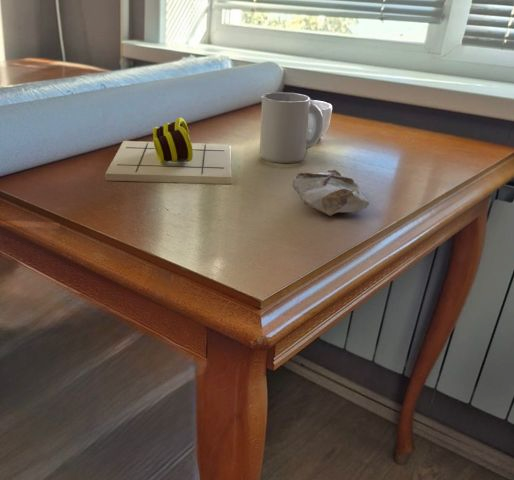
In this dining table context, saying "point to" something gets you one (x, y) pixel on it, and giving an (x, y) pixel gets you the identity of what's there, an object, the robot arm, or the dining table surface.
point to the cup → (288, 126)
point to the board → (171, 164)
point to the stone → (329, 192)
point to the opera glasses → (173, 142)
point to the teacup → (326, 115)
